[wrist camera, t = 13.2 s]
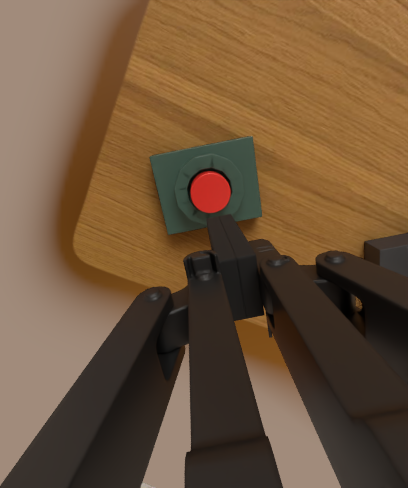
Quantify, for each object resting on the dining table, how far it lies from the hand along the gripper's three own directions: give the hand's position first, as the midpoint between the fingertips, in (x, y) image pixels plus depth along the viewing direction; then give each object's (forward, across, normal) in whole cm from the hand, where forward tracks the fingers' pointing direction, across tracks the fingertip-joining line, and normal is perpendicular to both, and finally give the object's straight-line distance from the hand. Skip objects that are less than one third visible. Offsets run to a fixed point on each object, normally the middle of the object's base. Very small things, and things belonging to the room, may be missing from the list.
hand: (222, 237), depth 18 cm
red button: (+11, 0, +1) cm, 11 cm away
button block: (+15, 0, +1) cm, 15 cm away
